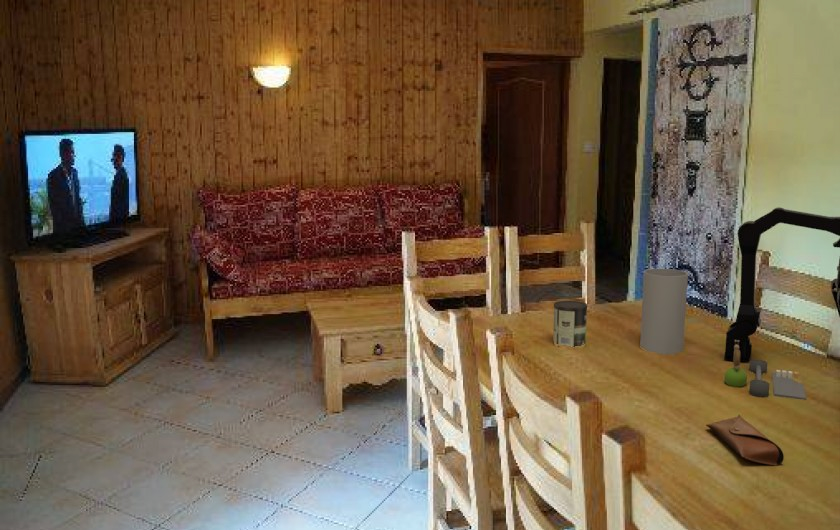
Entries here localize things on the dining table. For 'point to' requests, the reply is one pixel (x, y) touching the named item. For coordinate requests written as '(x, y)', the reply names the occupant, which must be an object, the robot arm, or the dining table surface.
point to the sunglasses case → (748, 441)
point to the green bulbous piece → (736, 371)
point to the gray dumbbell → (758, 379)
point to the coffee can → (570, 323)
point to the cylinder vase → (663, 310)
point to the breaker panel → (787, 385)
